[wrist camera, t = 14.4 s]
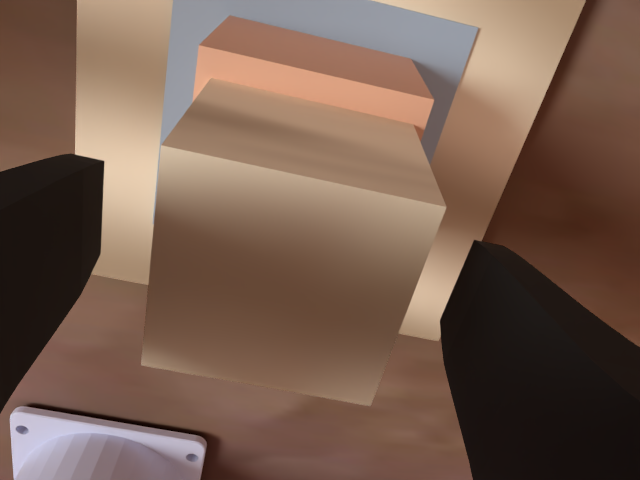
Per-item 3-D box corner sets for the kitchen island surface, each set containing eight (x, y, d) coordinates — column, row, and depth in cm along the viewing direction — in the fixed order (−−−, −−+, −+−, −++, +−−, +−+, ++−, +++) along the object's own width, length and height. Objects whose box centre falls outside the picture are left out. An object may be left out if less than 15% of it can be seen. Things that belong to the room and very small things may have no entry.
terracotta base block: (363, 216, 18) (371, 289, 14) (206, 184, 17) (175, 250, 14) (411, 58, 15) (434, 100, 12) (229, 15, 15) (198, 45, 11)
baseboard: (435, 330, 21) (438, 342, 20) (80, 261, 20) (72, 272, 19) (598, -53, 15) (610, -52, 14) (89, -193, 13) (77, -198, 13)
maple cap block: (360, 287, 14) (370, 406, 11) (188, 252, 14) (141, 365, 10) (413, 124, 12) (446, 206, 9) (211, 77, 12) (161, 145, 8)
